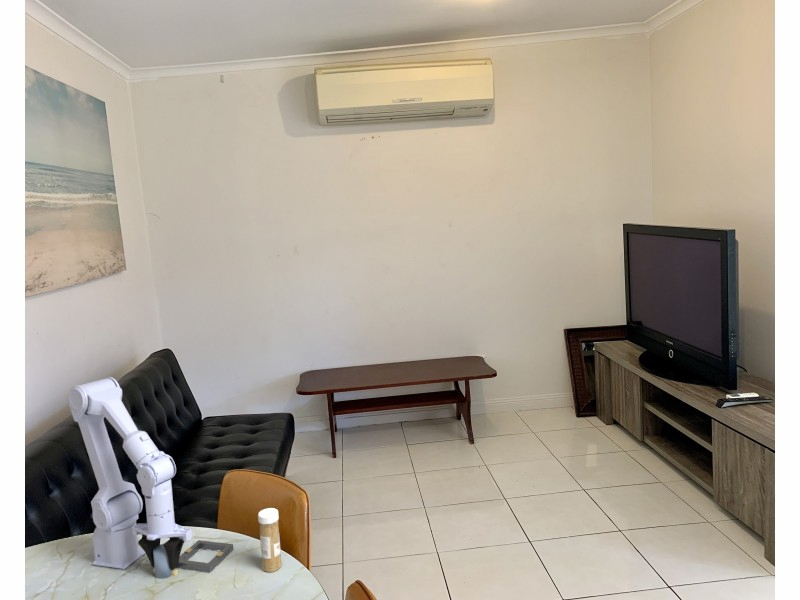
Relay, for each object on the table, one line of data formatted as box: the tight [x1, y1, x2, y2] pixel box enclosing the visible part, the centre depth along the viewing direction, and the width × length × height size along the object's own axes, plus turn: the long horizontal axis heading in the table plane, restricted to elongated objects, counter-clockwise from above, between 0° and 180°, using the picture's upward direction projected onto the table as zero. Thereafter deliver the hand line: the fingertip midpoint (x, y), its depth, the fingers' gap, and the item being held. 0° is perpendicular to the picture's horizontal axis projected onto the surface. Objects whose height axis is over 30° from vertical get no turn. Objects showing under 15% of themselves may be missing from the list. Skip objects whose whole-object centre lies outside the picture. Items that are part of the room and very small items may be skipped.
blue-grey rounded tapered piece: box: [152, 543, 179, 579], centre depth 130 cm, size 6×4×6 cm
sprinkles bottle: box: [257, 507, 283, 573], centre depth 130 cm, size 5×5×14 cm
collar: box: [176, 539, 235, 573], centre depth 135 cm, size 10×10×2 cm
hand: (165, 566), depth 130 cm, fingers closed on blue-grey rounded tapered piece, 4 cm apart
